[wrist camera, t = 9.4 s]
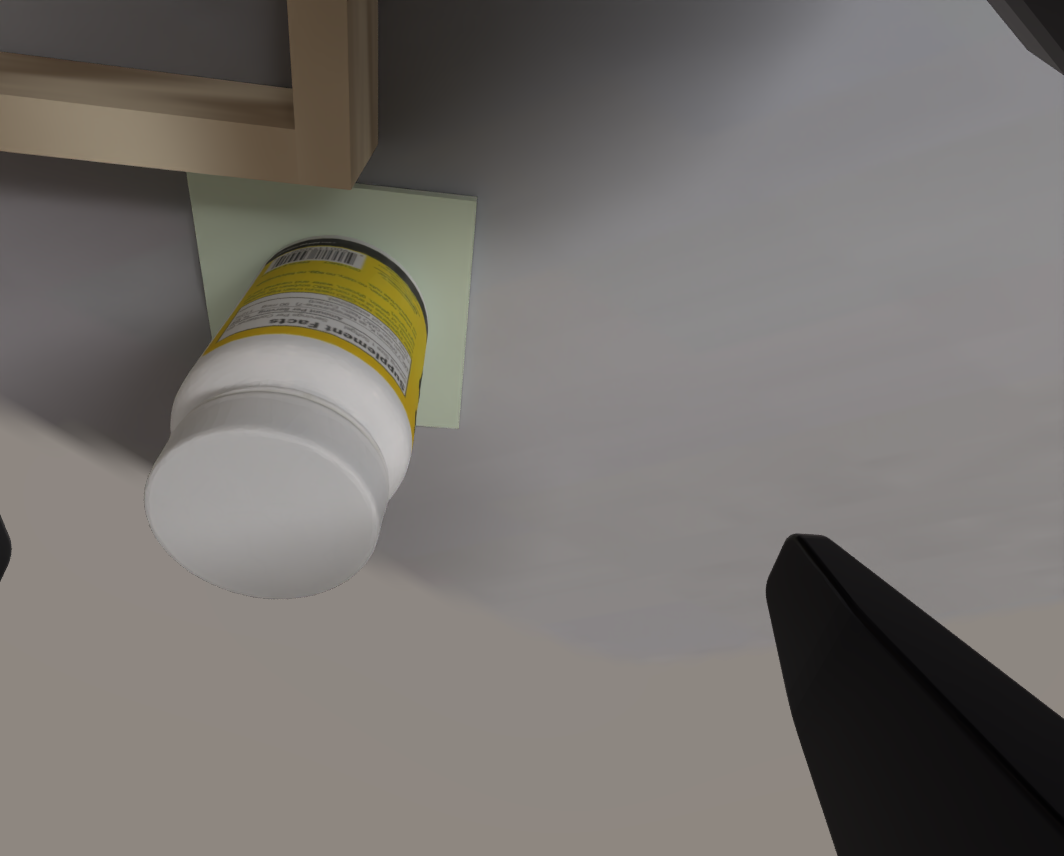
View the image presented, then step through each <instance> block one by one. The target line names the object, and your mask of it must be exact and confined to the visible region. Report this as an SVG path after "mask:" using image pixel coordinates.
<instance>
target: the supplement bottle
mask: <svg viewBox="0 0 1064 856" xmlns="http://www.w3.org/2000/svg"><path fill="white" fill-rule="evenodd" d="M427 337H428V314H427V310H426V305H425V302H424V299H423V296H422V294H421V292H420V290H419V288H418V286H417V284H416V282H415V281H414V279H413V278H412V276H411V275H410V274H409V273H408V271H407V270H406V269H405V268H404V267H403V266H402V265H401V264H400V263H399V262H398V261H396V260H395V259H394V258H393V257H391V256H390V255H389V254H387V253H386V252H384V251H382V250H381V249H379V248H377V247H375V246H373V245H371V244H369V243H366V242H364V241H361V240H358V239H354V238H351V237H345V236H338V235H321V236H313V237H308V238H304V239H301V240H298V241H296V242H294V243H291V244H289V245H287V246H285V247H284V248H282V249H281V250H279V251H278V252H277V253H275V254H274V255H273V256H272V257H271V258H270V259H269V260H268V261H267V262H266V263H265V264H264V266H263V267H262V268H261V270H260V271H259V273H258V274H257V276H256V277H255V279H254V280H253V282H252V283H251V285H250V286H249V288H248V289H247V290H246V292H245V293H244V295H243V296H242V298H241V299H240V301H239V302H238V303H237V305H236V306H235V308H234V309H233V311H232V312H231V314H230V315H229V317H228V318H227V319H226V321H225V322H224V324H223V325H222V327H221V328H220V329H219V331H218V332H217V334H216V335H215V336H214V338H213V339H212V341H211V342H210V344H209V345H208V347H207V348H206V349H205V351H204V352H203V354H202V355H201V356H200V358H199V359H198V361H197V362H196V363H195V365H194V366H193V368H192V369H191V370H190V372H189V373H188V375H187V377H186V378H185V380H184V381H183V383H182V385H181V387H180V389H179V390H178V392H177V395H176V397H175V400H174V403H173V407H172V411H171V423H170V431H171V435H170V437H169V440H168V442H167V444H166V445H165V447H164V448H163V450H162V452H161V453H160V455H159V457H158V458H157V460H156V462H155V463H154V465H153V467H152V469H151V471H150V473H149V476H148V478H147V482H146V485H145V492H144V507H145V512H146V517H147V519H148V522H149V526H150V528H151V530H152V532H153V534H154V536H155V537H156V539H157V540H158V542H159V543H160V544H161V546H162V547H163V548H164V550H165V551H166V552H167V553H168V554H169V555H170V556H171V557H172V558H173V559H174V560H175V561H177V562H178V563H179V564H180V565H181V566H182V567H183V568H185V569H186V570H188V571H189V572H191V573H192V574H194V575H195V576H197V577H199V578H201V579H203V580H204V581H206V582H208V583H211V584H213V585H215V586H217V587H219V588H222V589H225V590H227V591H230V592H233V593H237V594H242V595H246V596H250V597H256V598H264V599H292V598H301V597H308V596H313V595H316V594H319V593H323V592H326V591H328V590H331V589H333V588H335V587H337V586H339V585H341V584H343V583H344V582H346V581H347V580H349V579H350V578H352V577H353V576H354V575H355V574H356V573H358V572H359V571H360V570H361V569H362V568H363V567H364V565H365V564H366V563H367V562H368V560H369V559H370V557H371V555H372V553H373V551H374V549H375V547H376V544H377V541H378V538H379V534H380V529H381V525H382V521H383V517H384V514H385V512H386V509H387V505H388V501H389V500H390V499H391V497H392V496H393V495H394V493H395V492H396V491H397V489H398V488H399V486H400V485H401V483H402V481H403V479H404V477H405V474H406V472H407V469H408V465H409V462H410V459H411V453H412V447H413V441H414V433H415V426H416V417H417V409H418V403H419V398H420V388H421V381H422V376H423V366H424V359H425V352H426V344H427Z"/></svg>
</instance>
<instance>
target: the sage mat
mask: <svg viewBox="0 0 1064 856" xmlns="http://www.w3.org/2000/svg"><path fill="white" fill-rule="evenodd" d="M186 174H187V181H188V187H189V194H190V200H191V207H192V213H193V220H194V226H195V233H196V239H197V246H198V252H199V259H200V265H201V272H202V278H203V285H204V291H205V298H206V304H207V311H208V317H209V324H210V330H211V337H212V339H213V338H214V336H215V335H216V334H217V332H218V331H219V329H220V328H221V327H222V325H223V324H224V322H225V321H226V319H227V318H228V317H229V315H230V314H231V312H232V311H233V309H234V308H235V306H236V305H237V303H238V302H239V301H240V299H241V298H242V296H243V295H244V293H245V292H246V290H247V289H248V288H249V286H250V285H251V283H252V282H253V280H254V279H255V277H256V276H257V274H258V273H259V271H260V270H261V268H262V267H263V266H264V264H265V263H266V262H267V261H268V260H269V259H270V258H271V257H272V256H273V255H274V254H275V253H277V252H278V251H279V250H281V249H282V248H284V247H285V246H287V245H289V244H291V243H294V242H296V241H298V240H301V239H304V238H308V237H313V236H321V235H338V236H345V237H351V238H354V239H358V240H361V241H364V242H366V243H369V244H371V245H373V246H375V247H377V248H379V249H381V250H382V251H384V252H386V253H387V254H389V255H390V256H391V257H393V258H394V259H395V260H396V261H398V262H399V263H400V264H401V265H402V266H403V267H404V268H405V269H406V270H407V271H408V273H409V274H410V275H411V276H412V278H413V279H414V281H415V282H416V284H417V286H418V288H419V290H420V292H421V294H422V296H423V299H424V302H425V305H426V310H427V314H428V337H427V344H426V352H425V359H424V366H423V376H422V381H421V388H420V398H419V403H418V409H417V417H416V426H428V427H442V428H455V429H459V417H460V405H461V392H462V380H463V367H464V355H465V342H466V330H467V317H468V305H469V292H470V280H471V268H472V255H473V243H474V230H475V218H476V205H477V197H473V196H464V195H455V194H447V193H438V192H429V191H420V190H411V189H402V188H393V187H385V186H376V185H367V184H358V183H355V184H354V186H353V188H352V189H351V190H345V189H336V188H327V187H318V186H309V185H300V184H291V183H282V182H273V181H264V180H255V179H246V178H237V177H228V176H219V175H210V174H201V173H192V172H186Z"/></svg>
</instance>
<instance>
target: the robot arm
mask: <svg viewBox="0 0 1064 856" xmlns="http://www.w3.org/2000/svg"><path fill="white" fill-rule="evenodd" d="M987 1H988V2H989V4H990V5H991V6H992V7H993V8H994V10H995V11H996V12H997V13H998V15H999V16H1000V17H1001V18H1002V20H1003V21H1004V22H1005V23H1006V24H1007V26H1008V27H1009V28H1010V29H1011V31H1012V32H1013V33H1014V34H1015V35H1016V37H1017V38H1018V39H1019V40H1020V42H1021V43H1022V44H1023V45H1024V46H1025V48H1026V49H1027V50H1028V51H1030V52H1031V53H1033V54H1034V55H1035V56H1037V57H1038V58H1040V59H1041V60H1043V61H1044V62H1045V63H1047V64H1048V65H1050V66H1051V67H1053V68H1054V69H1056V70H1057V71H1058V72H1060V73H1061V74H1063V75H1064V0H987ZM11 550H12V548H11V540H10V538H9V535H8V532H7V530H6V528H5V525H4V523H3V520H2V518H1V515H0V581H1V579H2V577H3V574H4V572H5V570H6V568H7V566H8V564H9V561H10V557H11ZM766 600H767V605H768V609H769V614H770V619H771V623H772V628H773V633H774V637H775V642H776V647H777V651H778V656H779V660H780V665H781V669H782V674H783V679H784V684H785V688H786V693H787V697H788V701H789V706H790V710H791V714H792V717H793V721H794V724H795V727H796V731H797V734H798V736H799V740H800V743H801V746H802V749H803V752H804V755H805V758H806V761H807V764H808V767H809V770H810V773H811V777H812V780H813V782H814V786H815V789H816V792H817V795H818V798H819V801H820V804H821V807H822V810H823V813H824V816H825V819H826V822H827V825H828V828H829V831H830V834H831V837H832V840H833V843H834V846H835V849H836V852H837V855H838V856H1064V718H1062V717H1061V716H1060V715H1058V714H1057V713H1056V712H1054V711H1053V710H1052V709H1050V708H1049V707H1048V706H1047V705H1045V704H1044V703H1043V702H1041V701H1040V700H1039V699H1037V698H1036V697H1035V696H1034V695H1032V694H1031V693H1030V692H1028V691H1027V690H1026V689H1024V688H1023V687H1022V686H1020V685H1019V684H1018V683H1017V682H1015V681H1014V680H1013V679H1011V678H1010V677H1009V676H1008V675H1006V674H1005V673H1004V672H1002V671H1001V670H1000V669H998V668H997V667H996V666H994V665H993V664H992V663H991V662H989V661H988V660H987V659H985V658H984V657H983V656H981V655H980V654H979V653H978V652H976V651H975V650H974V649H972V648H971V647H970V646H968V645H967V644H966V643H965V642H963V641H962V640H960V639H959V638H958V637H957V636H955V635H954V634H953V633H952V632H950V631H949V630H948V629H946V628H945V627H944V626H942V625H941V624H940V623H939V622H937V621H936V620H935V619H933V618H932V617H931V616H929V615H928V614H927V613H926V612H924V611H923V610H922V609H920V608H919V607H918V606H916V605H915V604H914V603H913V602H911V601H910V600H909V599H907V598H906V597H905V596H903V595H902V594H901V593H899V592H898V591H897V590H896V589H894V588H893V587H892V586H890V585H889V584H888V583H886V582H885V581H884V580H883V579H881V578H880V577H879V576H877V575H876V574H875V573H873V572H872V571H871V570H870V569H868V568H867V567H866V566H864V565H863V564H862V563H860V562H859V561H858V560H857V559H855V558H854V557H853V556H851V555H850V554H849V553H847V552H846V551H845V550H844V549H842V548H841V547H840V546H838V545H837V544H836V543H834V542H833V541H832V540H830V539H829V538H827V537H825V536H822V535H814V534H792V535H790V536H789V537H788V538H787V539H786V541H785V542H784V544H783V547H782V549H781V551H780V553H779V555H778V557H777V560H776V562H775V564H774V566H773V568H772V571H771V573H770V575H769V577H768V580H767V584H766Z"/></svg>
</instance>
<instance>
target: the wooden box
mask: <svg viewBox="0 0 1064 856" xmlns="http://www.w3.org/2000/svg"><path fill="white" fill-rule="evenodd" d="M287 11H288V27H289V42H290V58H291V73H292V89H291V88H283V87H275V86H267V85H259V84H252V83H244V82H236V81H228V80H220V79H212V78H204V77H196V76H189V75H181V74H173V73H165V72H157V71H149V70H141V69H134V68H126V67H118V66H110V65H102V64H94V63H86V62H78V61H71V60H63V59H55V58H47V57H39V56H31V55H23V54H16V53H8V52H0V151H4V152H13V153H22V154H31V155H40V156H49V157H58V158H67V159H76V160H85V161H94V162H103V163H112V164H121V165H130V166H139V167H148V168H157V169H166V170H175V171H184V172H192V173H201V174H210V175H219V176H228V177H237V178H246V179H255V180H264V181H273V182H282V183H291V184H300V185H309V186H318V187H327V188H336V189H345V190H351V189H352V188H353V186H354V184H355V183H356V181H357V179H358V178H359V176H360V174H361V172H362V171H363V169H364V167H365V166H366V164H367V162H368V161H369V159H370V157H371V155H372V154H373V152H374V150H375V149H376V147H377V145H378V0H287Z"/></svg>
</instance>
